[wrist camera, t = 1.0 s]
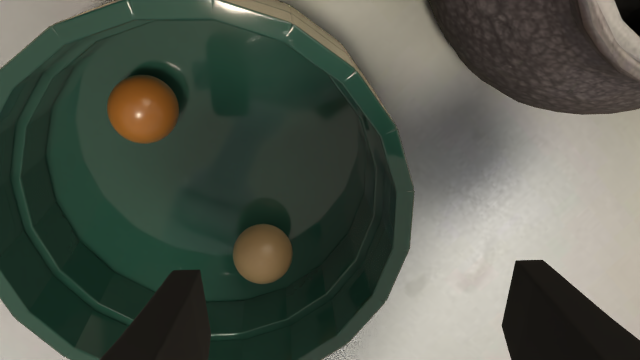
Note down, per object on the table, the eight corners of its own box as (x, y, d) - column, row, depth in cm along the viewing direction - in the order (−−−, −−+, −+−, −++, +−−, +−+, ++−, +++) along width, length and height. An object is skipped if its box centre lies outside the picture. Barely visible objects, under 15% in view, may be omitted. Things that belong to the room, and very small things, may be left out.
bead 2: (282, 267, 23) (283, 302, 21) (228, 255, 23) (223, 288, 21) (299, 221, 22) (301, 251, 20) (243, 207, 22) (239, 237, 20)
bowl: (323, 335, 26) (333, 421, 21) (11, 270, 23) (-53, 351, 19) (438, 52, 21) (484, 85, 16) (52, -76, 18) (-25, -80, 13)
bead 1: (176, 138, 21) (164, 161, 18) (112, 120, 20) (92, 142, 18) (190, 78, 20) (179, 96, 18) (123, 59, 19) (104, 75, 17)
